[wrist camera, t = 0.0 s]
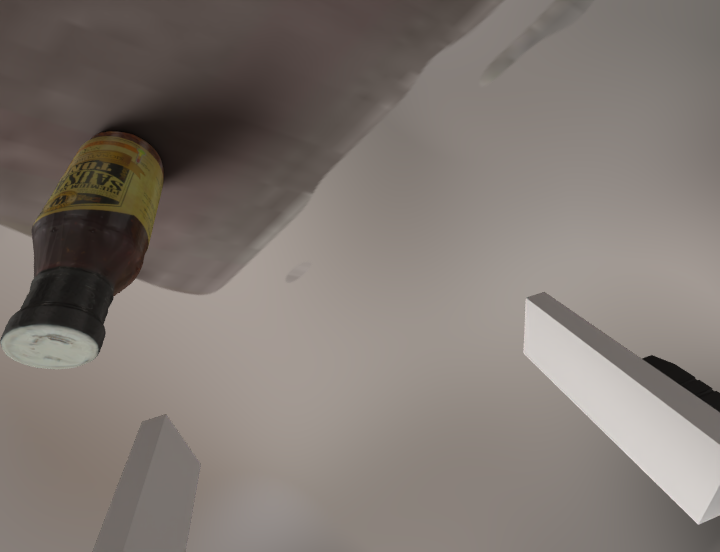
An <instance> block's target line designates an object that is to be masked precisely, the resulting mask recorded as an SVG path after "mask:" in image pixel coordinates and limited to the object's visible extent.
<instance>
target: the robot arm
mask: <svg viewBox="0 0 720 552" xmlns="http://www.w3.org/2000/svg"><path fill="white" fill-rule="evenodd" d="M525 312H526V313H525V332H524V354H525V355H526V356H527V357H528V358H529V359H530V360H531V361H532V362H533V363H534V364H535V365H536V366H537V367H538V368H539V369H540V370H541V371H542V372H543V373H544V374H545V375H546V376H547V377H548V378H549V379H550V380H551V381H552V382H553V383H554V384H556V386H557V387H558V388H560V389H561V391H562V392H564V393H565V394H566V395H567V396H568V397H569V398H570V399H571V400H572V401H573V402H574V403H575V404H576V405H577V406H578V407H579V408H580V409H581V410H582V411H583V412H584V413H585V414H586V415H587V416H588V417H589V418H590V419H591V420H592V421H593V422H594V423H595V424H596V425H597V426H598V427H599V428H600V429H601V430H602V431H603V432H604V433H606V435H607V436H608V437H609V438H611V440H612V441H613V442H615V443H616V444H617V445H618V446H619V447H620V448H621V449H622V450H623V451H624V452H625V453H626V454H627V455H628V456H629V457H630V458H631V459H632V460H633V461H634V462H635V463H636V464H637V465H638V466H639V467H640V468H641V469H642V470H643V471H644V472H645V473H646V474H647V475H648V476H649V477H650V478H651V479H652V480H653V481H654V482H655V483H656V484H657V485H658V486H659V487H661V489H663V490H664V491H665V492H666V493H667V494H668V495H669V496H670V497H671V498H672V499H673V500H674V501H675V502H676V503H677V504H678V505H679V506H680V507H681V508H682V509H683V510H684V511H685V512H686V513H687V514H688V515H689V516H690V517H691V518H692V519H693V520H694V521H695V522H696V523H697V524H701V523H703V522H706V521H708V520H710V519H712V518H715V517H717V516H719V515H720V393H719V392H717V391H713V390H712V388H711V387H709V386H708V385H706V384H705V383H703V382H701V381H700V380H696V379H695V377H694V376H692V375H691V374H689V373H688V372H686V371H685V370H683V369H681V368H680V367H678V366H677V365H675V364H673V363H671V362H668V361H665V360H663V359H660V358H658V357H655V356H653V355H651V356H648V357H645V358H643V359H641V358H640V357H638V356H637V355H635V354H634V353H633V352H631V351H630V350H628V349H627V348H625V347H624V346H622V345H621V344H619V343H618V342H617V341H615V340H613V339H612V338H611V337H609V336H608V335H606V334H605V333H603V332H602V331H601V330H599V329H598V328H596V327H595V326H593V325H592V324H590V323H589V322H587V321H586V320H585V319H583V318H581V317H580V316H579V315H577V314H576V313H574V312H573V311H571V310H570V309H569V308H567V307H566V306H564V305H563V304H561V303H560V302H558V301H556V300H555V299H554V298H552V297H551V296H550V295H548V294H547V293H545V292H543V293H540V294H536V295H533V296H530V297H527V298H526V309H525ZM200 467H201V463H200V462H199V461H198V459H197V458H196V456H195V455H194V453H193V452H192V451H191V449H190V448H189V446H188V445H187V443H186V442H185V441H184V439H183V438H182V436H181V435H180V433H179V432H178V430H177V429H176V428H175V426H174V425H173V423H172V422H171V420H170V419H169V418H168V416H167V415H166V414H165V415H161V416H158V417H155V418H152V419H149V420H146V421H143V422H142V423H141V426H140V428H139V431H138V434H137V436H136V439H135V441H134V444H133V447H132V449H131V452H130V455H129V457H128V460H127V462H126V465H125V468H124V470H123V473H122V475H121V478H120V481H119V483H118V486H117V489H116V491H115V494H114V497H113V499H112V502H111V504H110V507H109V509H108V512H107V515H106V517H105V520H104V523H103V525H102V528H101V530H100V533H99V536H98V538H97V541H96V544H95V546H94V549H93V551H92V552H186V545H187V540H188V535H189V529H190V523H191V518H192V512H193V506H194V500H195V495H196V489H197V484H198V478H199V472H200Z"/></svg>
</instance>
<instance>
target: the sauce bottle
mask: <svg viewBox="0 0 720 552" xmlns="http://www.w3.org/2000/svg"><path fill="white" fill-rule="evenodd" d="M163 177H164V170H163V165H162V161H161V159H160V156H159V155H158V153H157V152H156V150H155V149H154V148H153V147H152V146H151V145H149V144H148V143H147V142H146V141H145V140H143V139H141V138H139V137H137V136H135V135H132V134H129V133H124V132H118V131H107V132H102V133H99V134H98V135H95V136H94V137H93V138H91V139H90V140H89V141H87V142H86V143H84V144H83V145H82V146H81V147H80V149H79V151H78V152H77V154H76V155H75V157H74V159H73V160H72V162H71V164H70V165H69V167H68V169H67V170H66V172H65V174H64V175H63V177H62V178H61V180H60V182H59V184H58V185H57V187H56V189H55V190H54V192H53V194H52V195H51V197H50V199H49V200H48V202H47V204H46V205H45V207H44V208H43V210H42V212H41V213H40V215H39V216H38V218H37V219H36V221H35V223H34V225H33V227H32V239H33V248H34V279H33V281H32V283H31V287H30V292H29V294H28V295H27V297H26V299H25V301H24V303H23V305H22V307H21V309H20V310H19V311H18V312H17V313H15V314H14V315H13V316H12V317H11V318H10V320H9V322H8V324H7V325H6V327H5V331H4V333H3V335H2V337H1V340H0V341H1V347H2V349H3V350H4V352H5V354H6V355H7V356H9V357H10V358H12V359H13V360H15V361H18V362H19V363H22V364H25V365H28V366H33V367H37V368H47V369H66V368H73V367H78V366H80V365H83V364H85V363H88V362H91V361H92V360H94V359H95V358H96V357H97V356H98V354H99V352H100V349H101V347H102V344H103V340H104V338H105V328H104V325H103V324H104V321H105V318H106V316H107V313H108V308H109V306H110V304H111V302H112V300H113V296H115V295H116V294H117V293H120V291H122V290H123V289H125V288H126V287H127V286H128V285H130V284H131V283H132V282H133V281H134V280H135V278H136V277H137V275H138V274H139V272H140V270H141V268H142V264H143V260H144V255H145V253H146V251H147V249H148V245H149V241H150V237H151V233H152V229H153V224H154V220H155V216H156V212H157V208H158V203H159V200H160V195H161V191H162V187H163Z"/></svg>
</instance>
